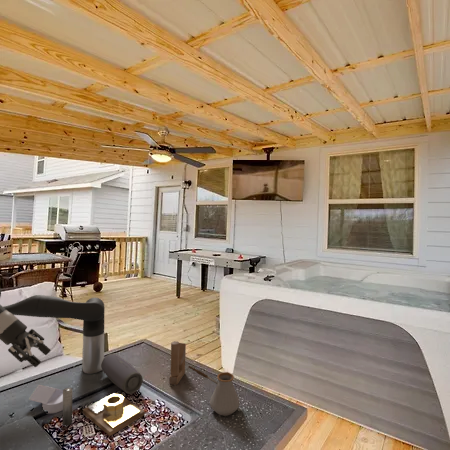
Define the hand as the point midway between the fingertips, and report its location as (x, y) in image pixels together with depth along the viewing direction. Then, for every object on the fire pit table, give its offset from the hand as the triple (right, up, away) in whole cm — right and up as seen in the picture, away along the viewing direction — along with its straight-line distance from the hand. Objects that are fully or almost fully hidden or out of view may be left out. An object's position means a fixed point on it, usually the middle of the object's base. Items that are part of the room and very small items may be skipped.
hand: (43, 358), depth 106 cm
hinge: (+21, -22, +7) cm, 32 cm away
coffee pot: (+58, -25, +13) cm, 64 cm away
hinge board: (+21, -24, +8) cm, 33 cm away
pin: (+7, -24, +2) cm, 25 cm away
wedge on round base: (-4, -23, +12) cm, 27 cm away
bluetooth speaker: (+18, -23, +27) cm, 40 cm away
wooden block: (+41, -24, +33) cm, 58 cm away
